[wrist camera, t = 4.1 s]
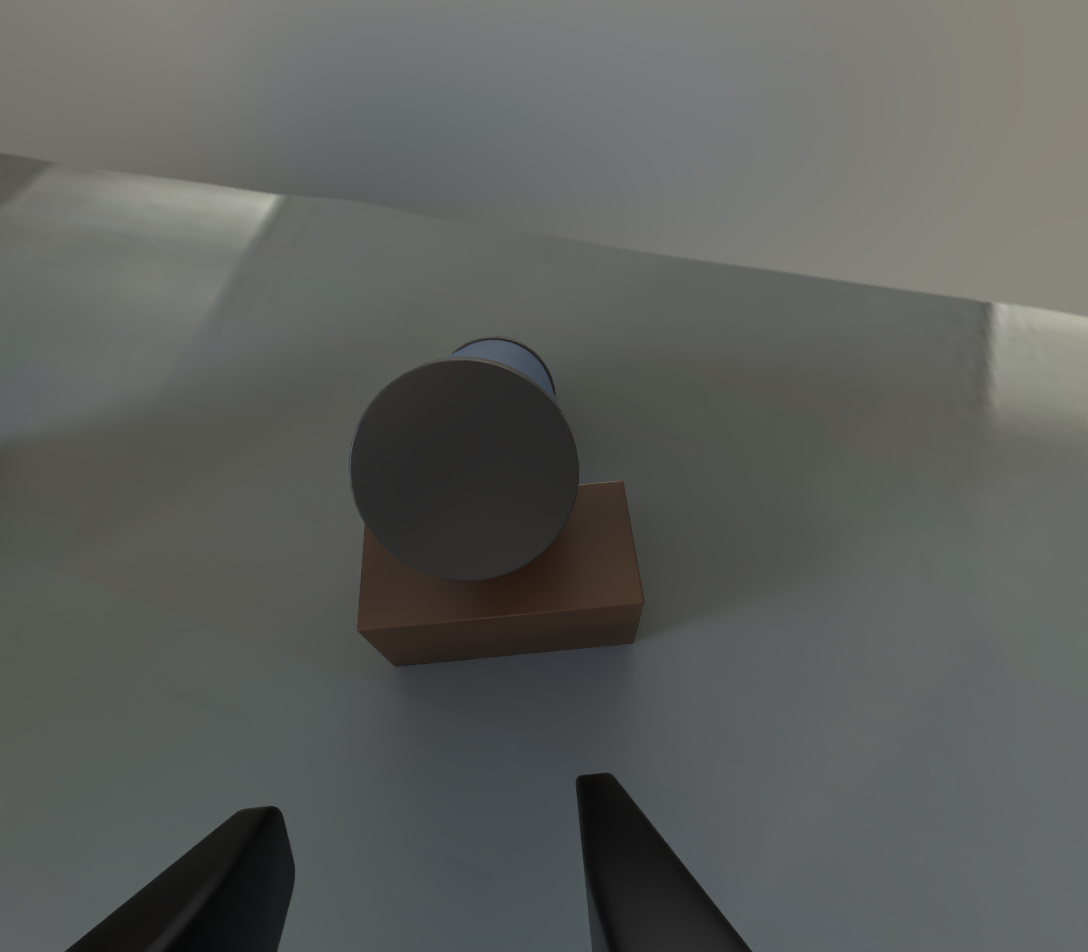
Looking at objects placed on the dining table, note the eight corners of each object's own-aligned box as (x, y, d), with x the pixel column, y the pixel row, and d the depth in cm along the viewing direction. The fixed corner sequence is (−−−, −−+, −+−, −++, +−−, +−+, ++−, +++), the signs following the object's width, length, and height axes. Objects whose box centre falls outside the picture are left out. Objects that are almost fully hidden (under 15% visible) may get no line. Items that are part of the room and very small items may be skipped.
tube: (584, 664, 20) (589, 497, 10) (445, 677, 20) (310, 525, 10) (552, 384, 26) (535, 101, 16) (444, 395, 26) (358, 119, 16)
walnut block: (634, 643, 20) (644, 603, 17) (393, 667, 20) (356, 631, 17) (616, 534, 22) (623, 479, 19) (398, 555, 22) (365, 504, 19)
